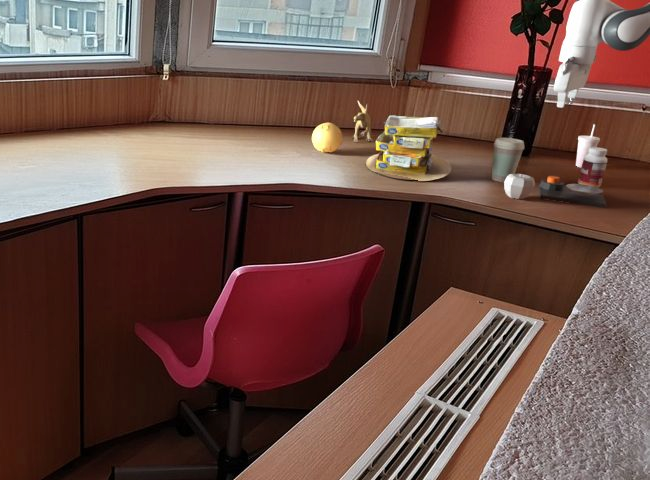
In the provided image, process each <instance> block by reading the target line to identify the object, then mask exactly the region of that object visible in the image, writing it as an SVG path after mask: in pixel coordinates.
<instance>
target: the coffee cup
mask: <svg viewBox="0 0 650 480" xmlns="http://www.w3.org/2000/svg"><path fill="white" fill-rule="evenodd" d="M524 150H525V142H524V140H521V139H518V138H512V137H498V138H496V139H495V141H494V142H493V156H492V167H491V180H493V181H495V182H499V183H504V181H505V179H506V178H507V176H508V175H509V174H516V171H517V168H518V166H519V163H520V160H521V157H522V154H523V151H524Z"/></svg>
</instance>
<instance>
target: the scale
mask: <svg viewBox="0 0 650 480" xmlns="http://www.w3.org/2000/svg"><path fill="white" fill-rule="evenodd" d="M547 179H548V178H543V179H540V182H539V183H538V195H539V194H540V196H539V199H540V198H541V199H540V200H544V199H549V200H548V201H551V200H556V201H555V202H558V201H563V202H562V203H565V202H569V203H568V204H573V203H574V204H573V205H581V206H588V207H596V208H601V209H606V207H607V202H606V200H605V198H604V194H603V193H602V194H600V195H586V194H580V193H575V192H572V191H569V190H567V189H566V186H565V182H564V181H561V180H559V183H558V184H554V183H549V182H547Z"/></svg>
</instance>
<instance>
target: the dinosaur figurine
mask: <svg viewBox="0 0 650 480" xmlns="http://www.w3.org/2000/svg"><path fill="white" fill-rule="evenodd" d="M357 104H358V106H359V108H360V110H361V112H358V113H357V115H355V116H354V117H353V122H354V123H355V126H354V135H353V136H352V137H351V138H350V139H352V140H353V143H355V142H356V143H359V136H361V137H364V136H365V134H366V138H365V141H366V142H374V140H373V138H372V126H371V125H372V122H371V121H372V120H371V117H370V115H369V113H368V107H369V103H366V105H365V107H364V106H363V105H362V104H361V103H360V101H359V100H357ZM360 128H361V129H365V130H364V131H361V132H360Z"/></svg>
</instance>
